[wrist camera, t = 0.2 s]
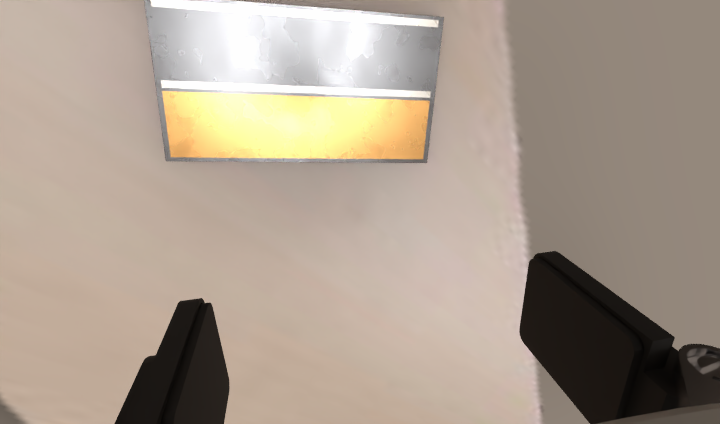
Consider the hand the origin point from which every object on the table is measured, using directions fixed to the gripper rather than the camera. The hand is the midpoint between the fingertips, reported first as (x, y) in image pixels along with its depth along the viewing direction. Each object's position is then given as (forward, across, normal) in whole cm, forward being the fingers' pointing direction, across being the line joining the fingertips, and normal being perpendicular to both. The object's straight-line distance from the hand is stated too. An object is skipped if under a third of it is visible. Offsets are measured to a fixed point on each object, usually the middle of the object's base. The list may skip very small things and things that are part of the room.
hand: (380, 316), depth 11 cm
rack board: (+31, 0, -4) cm, 31 cm away
